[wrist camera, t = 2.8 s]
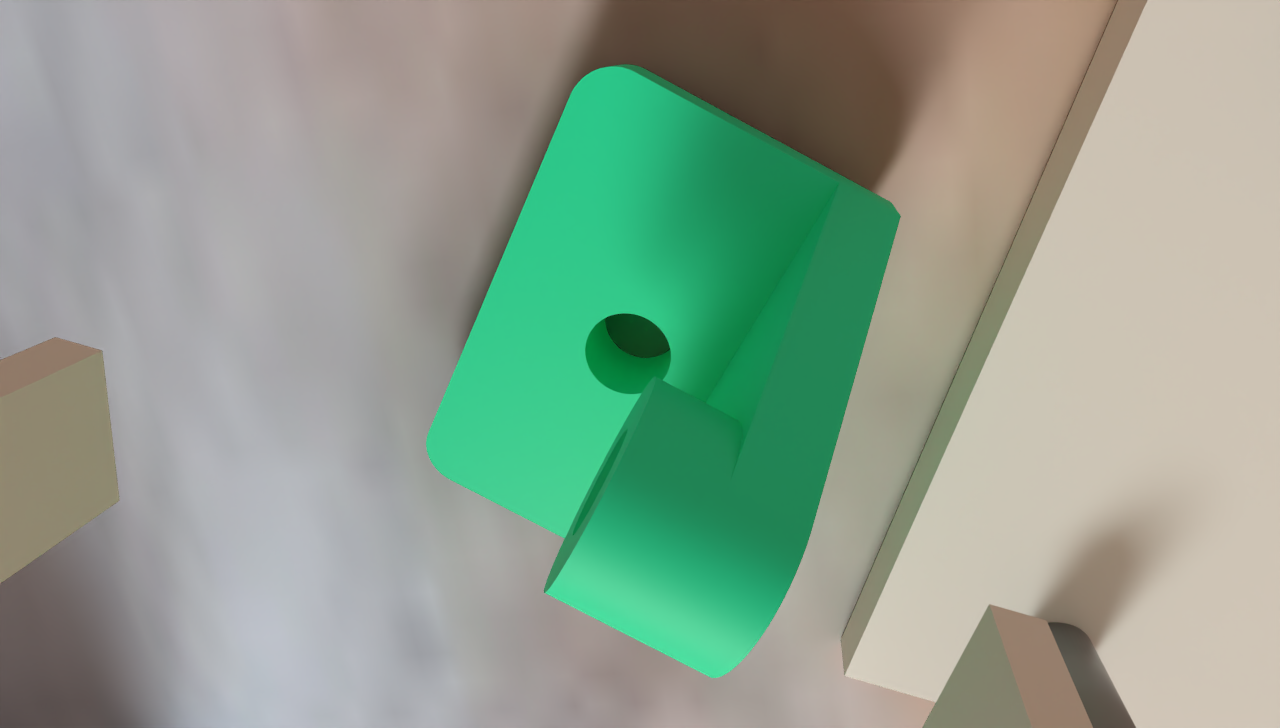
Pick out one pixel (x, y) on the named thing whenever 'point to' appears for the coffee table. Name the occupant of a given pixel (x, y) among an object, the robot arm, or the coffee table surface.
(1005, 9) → the coffee table surface
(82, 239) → the coffee table surface
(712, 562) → the camera mount
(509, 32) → the coffee table surface
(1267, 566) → the stub plate
